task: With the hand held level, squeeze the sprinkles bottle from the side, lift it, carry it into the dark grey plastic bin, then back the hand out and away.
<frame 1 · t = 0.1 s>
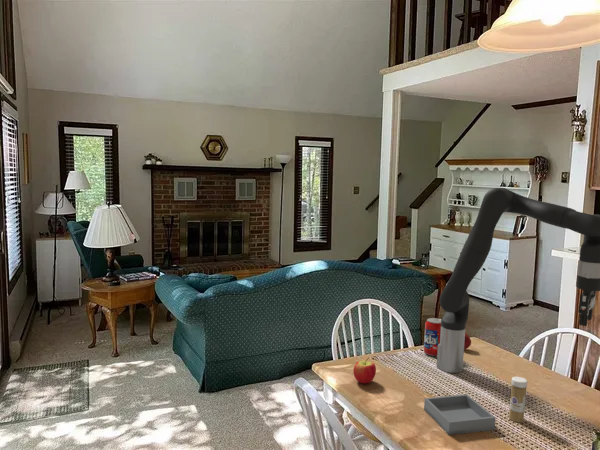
hand: (585, 322, 162), 29 cm above the table, tool pointing down, fingers open, 8 cm apart
apple: (364, 382, 180), on the table
bin: (458, 419, 155), on the table
onion: (463, 350, 215), on the table
soda can: (433, 354, 210), on the table
sprinkles bottle: (516, 419, 156), on the table
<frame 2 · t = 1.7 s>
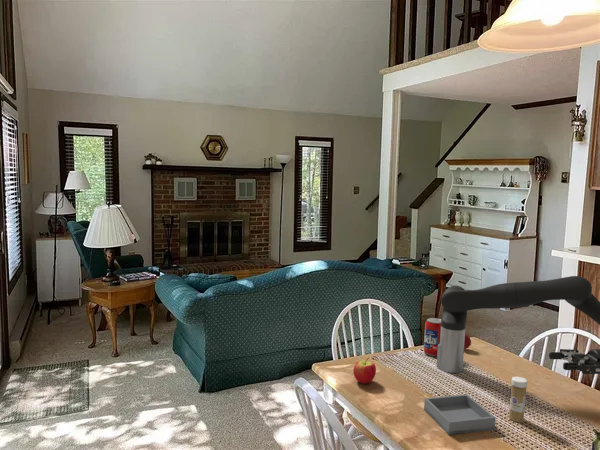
hand: (556, 360, 153), 20 cm above the table, tool horizontal, fingers open, 8 cm apart
nothing on the table moved.
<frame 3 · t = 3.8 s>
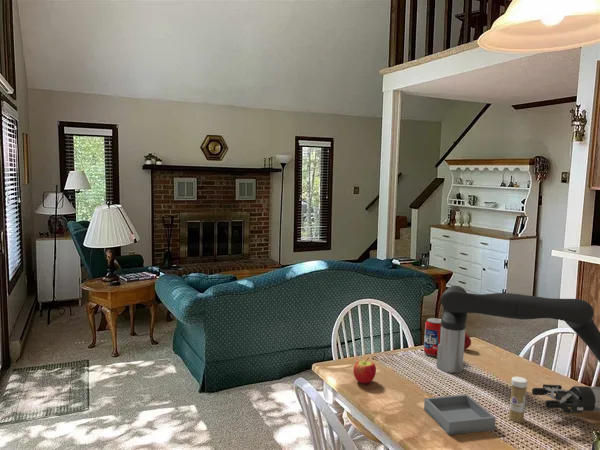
hand: (539, 397, 155), 7 cm above the table, tool horizontal, fingers open, 8 cm apart
nothing on the table moved.
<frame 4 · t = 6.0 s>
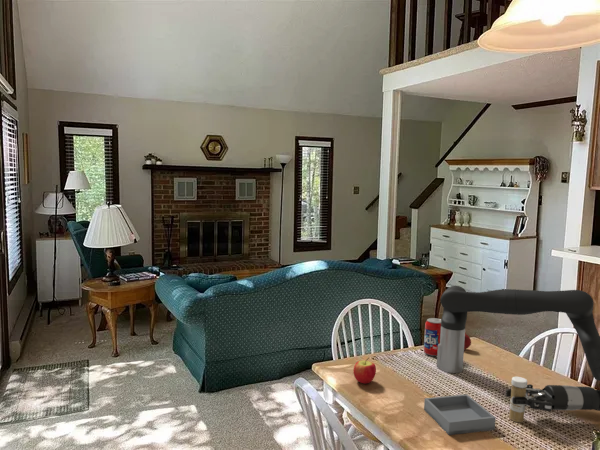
hand: (509, 396, 155), 8 cm above the table, tool horizontal, fingers closed on sprinkles bottle, 4 cm apart
sprinkles bottle: (516, 419, 156), on the table, touching gripper
everything else where it was.
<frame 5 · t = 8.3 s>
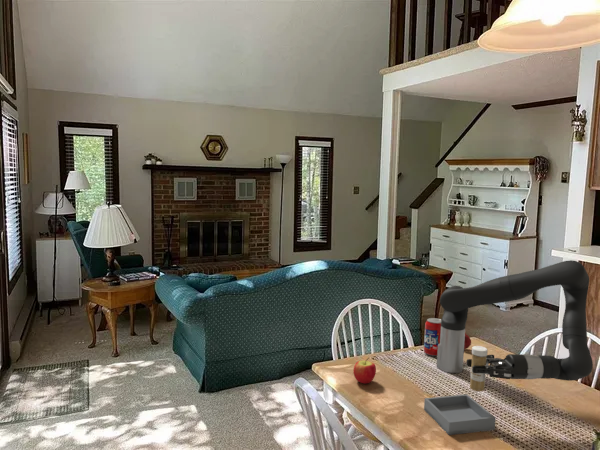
hand: (470, 366, 153), 18 cm above the table, tool horizontal, fingers closed on sprinkles bottle, 4 cm apart
sprinkles bottle: (477, 389, 154), point 10 cm above the table, touching gripper
everything else where it was.
when the fingers open (10 cm above the table, at t = 10.6 s): sprinkles bottle drops 1 cm, resting on bin.
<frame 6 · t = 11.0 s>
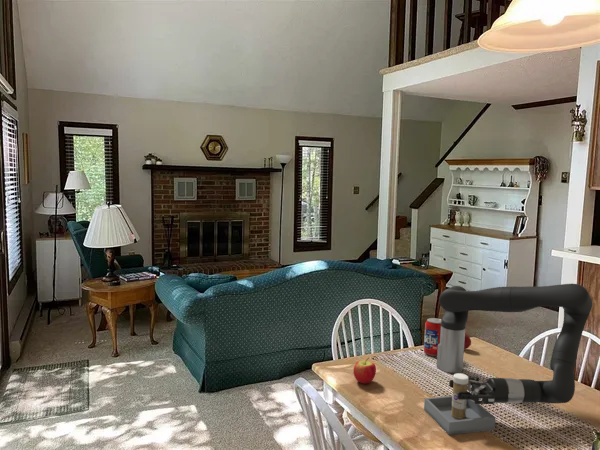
hand: (453, 389, 153), 10 cm above the table, tool horizontal, fingers open, 8 cm apart
sprinkles bottle: (458, 416, 155), point 1 cm above the table, touching bin
everything else where it was.
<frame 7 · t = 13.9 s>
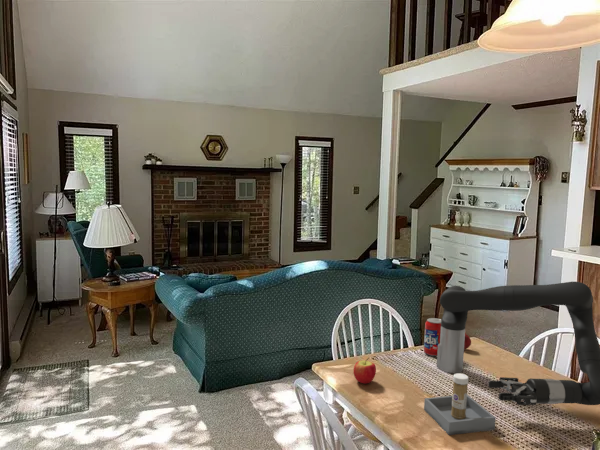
hand: (493, 390, 154), 10 cm above the table, tool horizontal, fingers open, 8 cm apart
nothing on the table moved.
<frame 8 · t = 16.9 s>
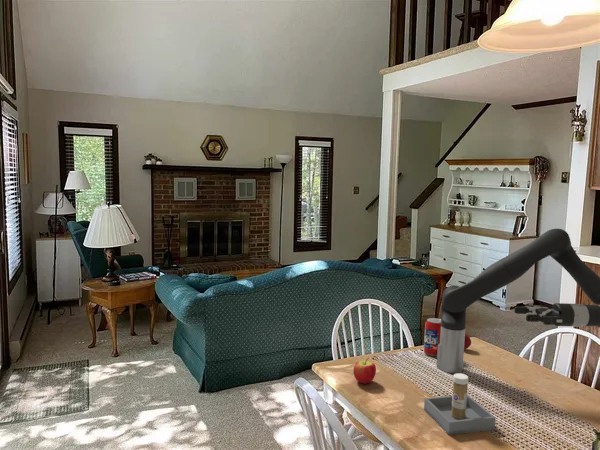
hand: (520, 313, 161), 32 cm above the table, tool horizontal, fingers open, 8 cm apart
nothing on the table moved.
at the end: sprinkles bottle inside the target area on the bin (0.2 cm from its centre), point 0.8 cm above the bin's base; sprinkles bottle tilted 0°; the gripper is holding nothing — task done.
